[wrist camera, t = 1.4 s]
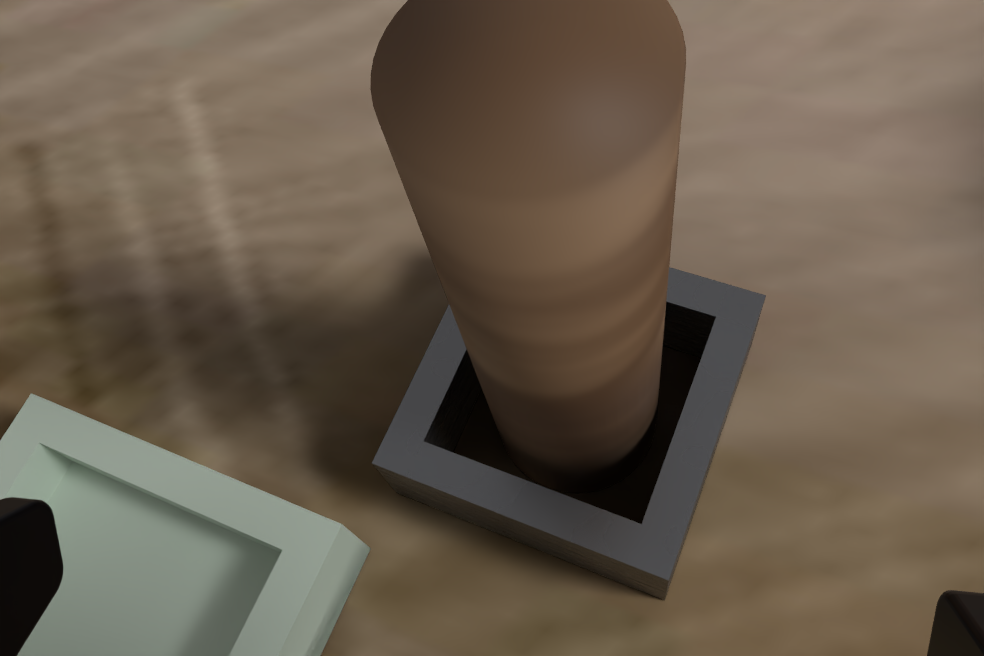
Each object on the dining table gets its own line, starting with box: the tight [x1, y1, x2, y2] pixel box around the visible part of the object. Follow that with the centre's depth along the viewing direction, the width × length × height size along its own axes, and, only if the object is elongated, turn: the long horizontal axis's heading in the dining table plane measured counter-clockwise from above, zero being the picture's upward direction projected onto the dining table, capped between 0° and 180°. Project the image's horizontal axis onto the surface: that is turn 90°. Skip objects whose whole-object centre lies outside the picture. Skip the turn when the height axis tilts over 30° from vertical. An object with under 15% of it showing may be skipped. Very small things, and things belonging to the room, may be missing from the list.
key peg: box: [371, 0, 686, 493], centre depth 17 cm, size 4×4×13 cm
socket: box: [372, 267, 766, 600], centre depth 22 cm, size 7×7×2 cm
